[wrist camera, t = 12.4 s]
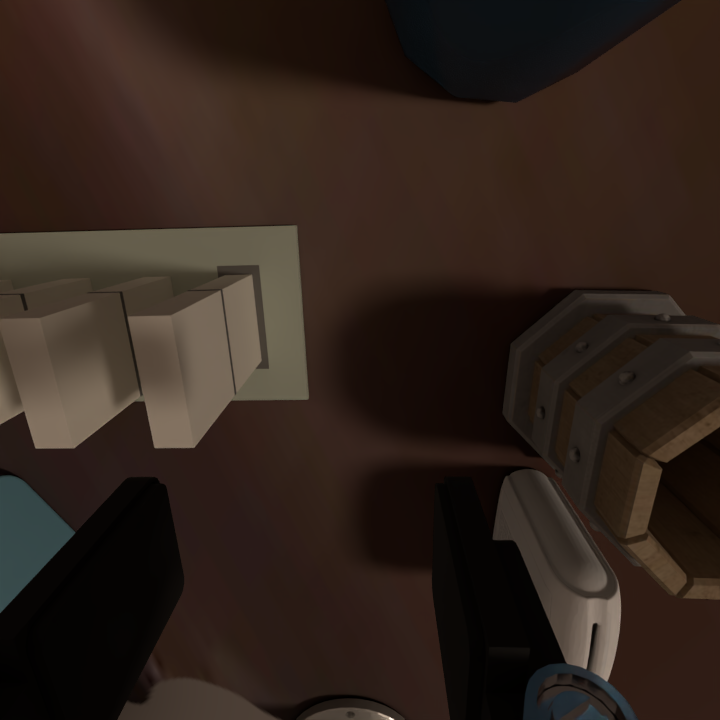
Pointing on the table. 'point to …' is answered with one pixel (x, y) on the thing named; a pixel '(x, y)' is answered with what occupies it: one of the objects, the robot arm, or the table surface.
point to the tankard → (629, 425)
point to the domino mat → (186, 280)
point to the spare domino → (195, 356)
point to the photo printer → (562, 568)
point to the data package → (25, 536)
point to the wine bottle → (513, 40)
